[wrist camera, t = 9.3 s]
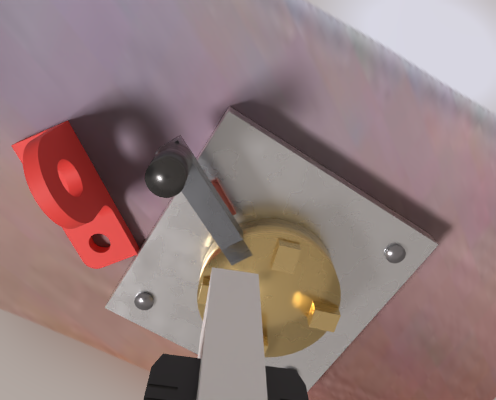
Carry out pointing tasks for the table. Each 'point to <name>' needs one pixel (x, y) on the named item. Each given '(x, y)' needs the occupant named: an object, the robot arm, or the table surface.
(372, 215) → the flange plate
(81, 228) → the bracket
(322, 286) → the ball knob lever
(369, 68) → the table surface
